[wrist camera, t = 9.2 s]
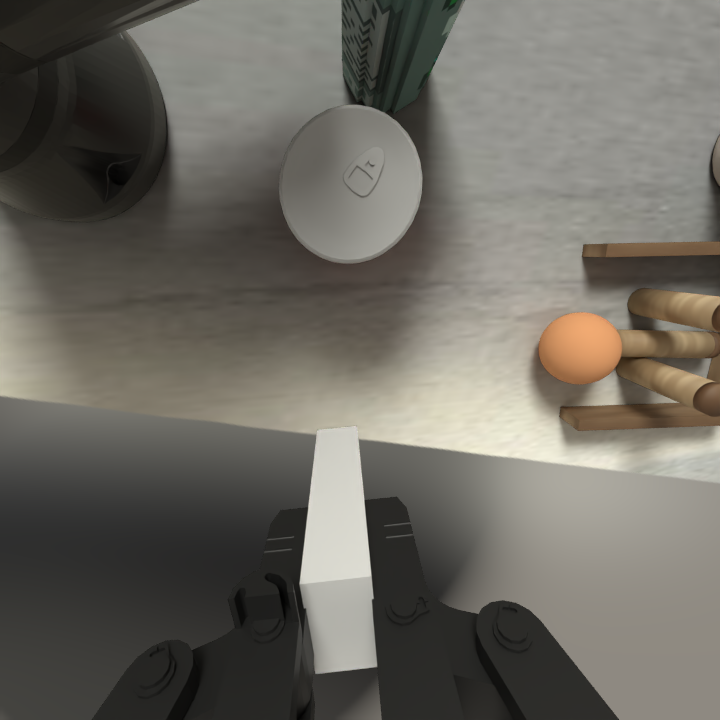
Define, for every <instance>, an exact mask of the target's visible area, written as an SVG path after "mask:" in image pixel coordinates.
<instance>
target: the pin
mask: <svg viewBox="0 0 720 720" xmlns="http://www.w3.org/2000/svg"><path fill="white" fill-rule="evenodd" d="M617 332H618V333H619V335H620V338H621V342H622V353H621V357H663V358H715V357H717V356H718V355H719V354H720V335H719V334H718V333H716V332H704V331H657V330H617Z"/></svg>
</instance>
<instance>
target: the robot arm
mask: <svg viewBox="0 0 720 720" xmlns="http://www.w3.org/2000/svg"><path fill="white" fill-rule="evenodd" d="M196 1H199V0H0V201H1V202H3V203H5V204H7V205H9V206H11V207H13V208H15V209H18V210H20V211H23V212H26V213H29V214H32V215H35V216H39V217H43V218H49V219H56V220H64V221H73V222H92V221H99V220H103V219H107V218H110V217H113V216H116V215H118V214H120V213H122V212H124V211H125V210H127V209H129V208H130V207H132V206H133V205H134V204H135V203H137V202H138V201H139V200H140V199H141V198H142V197H143V196H144V194H145V193H146V192H147V191H148V189H149V188H150V187H151V185H152V183H153V182H154V180H155V178H156V176H157V174H158V172H159V169H160V167H161V164H162V160H163V156H164V152H165V146H166V116H165V109H164V103H163V99H162V95H161V92H160V88H159V85H158V83H157V80H156V77H155V75H154V73H153V71H152V69H151V67H150V65H149V63H148V61H147V59H146V58H145V56H144V54H143V53H142V51H141V50H140V48H139V47H138V45H137V44H136V42H135V41H134V40H133V39H132V37H131V36H130V35H129V34H128V33H127V32H126V30H128V29H131V28H133V27H135V26H138V25H140V24H143V23H145V22H148V21H150V20H152V19H155V18H157V17H160V16H162V15H165V14H167V13H169V12H172V11H174V10H177V9H179V8H182V7H184V6H186V5H189V4H191V3H194V2H196ZM228 602H229V606H230V610H231V613H232V617H233V621H234V625H235V628H234V629H233V630H231V631H230V632H229V633H228V634H226V635H224V636H222V637H220V638H219V639H217V640H214V641H212V642H210V643H208V644H205V645H203V646H201V647H198V648H196V649H194V650H191V649H190V647H189V645H188V644H187V643H184V642H182V641H180V640H170V641H164V642H162V643H159V644H157V645H155V646H152V647H151V648H149V649H148V650H147V651H145V652H144V653H143V654H141V655H140V656H139V657H138V658H137V659H136V660H135V661H134V662H133V663H132V664H131V665H130V667H129V668H128V669H127V670H126V671H125V673H124V674H123V676H122V677H121V678H120V680H119V681H118V683H117V684H116V686H115V687H114V689H113V690H112V691H111V693H110V695H109V696H108V697H107V699H106V700H105V701H104V703H103V704H102V706H101V707H100V709H99V710H98V712H97V713H96V715H95V716H94V717H93V719H92V720H314V714H315V701H314V693H313V687H312V681H313V665H314V667H315V673H316V674H321V673H329V672H338V671H346V670H354V669H363V668H371V667H378V668H377V669H378V680H379V691H380V704H381V713H382V714H381V715H382V720H619V719H618V718H617V716H616V715H615V714H614V713H613V711H612V710H611V709H610V708H609V707H608V705H607V704H606V703H605V701H604V700H603V699H602V698H601V696H600V695H599V694H598V692H597V691H596V690H595V689H594V687H592V685H591V684H590V683H589V681H588V680H587V679H586V677H585V676H584V675H583V674H582V672H581V671H580V670H579V669H578V667H577V666H576V665H575V664H574V662H573V661H572V660H571V659H570V657H569V656H568V655H567V654H566V652H565V651H564V650H563V648H562V647H561V646H560V645H559V643H558V642H557V641H556V640H555V638H554V637H553V636H552V635H551V633H550V632H549V631H548V630H547V628H546V627H545V626H544V624H543V623H542V622H541V621H540V620H539V619H538V618H537V617H536V616H535V615H534V614H533V613H532V612H531V611H530V610H528V609H526V608H525V607H523V606H521V605H519V604H517V603H513V602H508V601H496V602H491V603H489V604H488V605H486V606H485V607H483V608H482V609H481V611H480V613H479V614H476V613H471V612H466V611H461V610H457V609H454V608H451V607H449V606H447V605H445V604H443V603H442V602H440V601H439V600H438V599H437V598H435V597H434V596H433V595H432V593H431V592H430V590H429V589H428V587H427V585H426V582H425V580H424V575H423V571H422V567H421V563H420V560H419V556H418V551H417V548H416V544H415V539H414V536H413V531H412V527H411V524H410V520H409V515H408V512H407V508H406V507H405V505H404V504H403V503H402V502H401V501H400V500H399V499H398V498H397V497H390V498H380V499H371V500H364V492H363V481H362V471H361V461H360V451H359V441H358V430H357V426H350V427H340V428H330V429H320V430H317V437H316V446H315V455H314V464H313V472H312V481H311V490H310V498H309V507H308V508H298V509H289V510H281V511H280V512H279V513H278V515H277V516H276V517H275V519H274V520H273V521H272V523H271V525H270V529H269V534H268V537H267V542H266V546H265V550H264V554H263V558H262V562H261V566H260V570H258V571H255V572H253V573H251V574H249V575H248V576H246V577H244V578H243V579H242V580H241V581H240V582H239V583H238V584H237V585H236V586H235V587H234V588H233V590H232V592H231V594H230V596H229V598H228Z"/></svg>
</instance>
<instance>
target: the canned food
mask: <svg viewBox="0 0 720 720" xmlns="http://www.w3.org/2000/svg"><path fill="white" fill-rule="evenodd" d="M421 194H422V170H421V163H420V159H419V156H418V153H417V150H416V147H415V145H414V144H413V142H412V140H411V138H410V137H409V135H408V133H407V132H406V131H405V130H404V129H403V128H402V127H401V125H400V124H399V123H398V122H397V121H395V120H394V119H393V118H391V117H390V116H389V115H387V114H386V113H384V112H381V111H379V110H377V109H375V108H372V107H367V106H362V105H342V106H338V107H335V108H331V109H328V110H326V111H324V112H322V113H320V114H318V115H316V116H315V117H313V118H312V119H311V120H310V121H309V122H307V123H306V124H305V125H304V126H303V127H302V128H301V129H300V130H299V132H298V133H297V134H296V135H295V137H294V138H293V139H292V141H291V143H290V145H289V147H288V149H287V151H286V153H285V156H284V159H283V162H282V165H281V170H280V178H279V196H280V202H281V207H282V211H283V214H284V217H285V219H286V221H287V224H288V226H289V228H290V230H291V231H292V233H293V234H294V235H295V237H296V238H297V240H298V241H299V242H300V243H301V244H302V245H303V246H304V247H305V248H306V249H307V250H309V251H310V252H312V253H314V254H315V255H317V256H318V257H320V258H323V259H325V260H328V261H331V262H335V263H342V264H354V263H361V262H365V261H369V260H372V259H374V258H376V257H378V256H380V255H382V254H384V253H385V252H387V251H388V250H389V249H391V248H392V247H393V246H395V245H396V243H397V242H398V241H399V240H400V239H401V238H402V237H403V236H404V235H405V233H406V231H407V230H408V228H409V227H410V225H411V224H412V222H413V220H414V217H415V215H416V212H417V210H418V208H419V203H420V199H421Z"/></svg>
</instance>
